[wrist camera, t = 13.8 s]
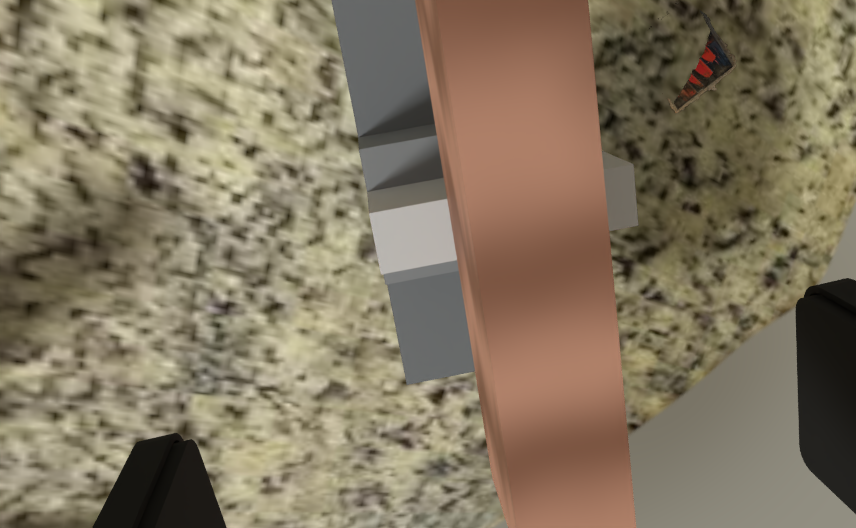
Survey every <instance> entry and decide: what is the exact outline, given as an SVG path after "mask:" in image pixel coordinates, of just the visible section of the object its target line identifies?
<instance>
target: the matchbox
mask: <svg viewBox="0 0 856 528" xmlns="http://www.w3.org/2000/svg"><path fill="white" fill-rule="evenodd" d="M675 4H679V2H677V3H675ZM700 12H701V14H702V15H703V16H704V19H705V21H706V23H707V22H708V23H707V25H708V27H709V28H710V30H711V31H710V34H709V36H708V38H709V39H710V40H709V41H708V42H707V45H706V47H705V48H706V49H705V51H704V53H703V55H702V58H699V59H700V60H699V63H698V65H697V67H696V69H694V70H693V71H692V74H691V77H690V78H689V80H688V81H687V83H686V84H685V86H682V87H684V88H683V89H682V91H681V94H679V95H680V96H678V97H677V98H676V100H675V102H674V103H673V104H675V106H676V107H675V106H674V105H673V104H672V103H671V102H672V101H671V102H670V100H669V99H668V101H669V103H670V106H671V108H672V109H674V110H675V113H678V112H679V111H681V110H684V109H685V108H684V107H686V106H688V105H689V104H690V103H691V102H694V101H695V100H697V99H699V96H700V95H701V94H703V93H704V92H706V91H707V90H708V91H709V90H714V91H716V88H715V84H717V83H718V82H719V81H720V80H721V79H722V78H723V77H724V76H726V75H727V74H728V73H731V70H733V69H734V68H735V67H736V66H737V65H736V62H737V60H735V59H734V58H735V56H734V55H732V54H730V51H729V50H728V49H727V44H726V43H724V42H723V41H722V40H721V38H720V37H719V35H718V34H717V33H716V32H715V31H714V28H713V27H712V25H711V23H710V19H709V18H708V17H707V15H706V14H704V13H703V12H702V11H700ZM667 15H668V13H667ZM662 18H663V17H662ZM658 19H659V18H658ZM649 29H650V28H649ZM662 94H663V93H662ZM676 101H677V102H676Z"/></svg>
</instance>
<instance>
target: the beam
mask: <svg viewBox="0 0 856 528" xmlns="http://www.w3.org/2000/svg"><path fill="white" fill-rule="evenodd" d="M415 4H416V10H417V16H418V22H419V28H420V34H421V41H422V47H423V53H424V59H425V65H426V71H427V78H428V84H429V90H430V96H431V102H432V108H433V115H434V121H435V127H436V133H437V139H438V145H439V151H440V158H441V164H442V170H443V176H444V182H445V188H446V195H447V201H448V207H449V213H450V219H451V225H452V232H453V238H454V244H455V250H456V256H457V262H458V269H459V275H460V281H461V287H462V293H463V299H464V306H465V312H466V318H467V324H468V330H469V336H470V343H471V349H472V355H473V361H474V367H475V373H476V380H477V386H478V392H479V398H480V404H481V410H482V416H483V423H484V429H485V435H486V441H487V447H488V453H489V460H490V466H491V472H492V478H493V481H494V484H495V487H496V490H497V494H498V497H499V500H500V503H501V506H502V509H503V513H504V516H505V519H506V522H507V525H508V528H636V521H635V510H634V500H633V499H634V498H633V487H632V477H631V467H630V466H631V465H630V455H629V444H628V433H627V422H626V411H625V400H624V389H623V378H622V367H621V356H620V345H619V334H618V323H617V312H616V301H615V290H614V279H613V268H612V257H611V246H610V235H609V224H608V213H607V202H606V191H605V181H604V170H603V159H602V148H601V137H600V126H599V115H598V104H597V93H596V82H595V71H594V60H593V49H592V38H591V27H590V16H589V5H588V0H415Z"/></svg>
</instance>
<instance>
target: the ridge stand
mask: <svg viewBox="0 0 856 528" xmlns="http://www.w3.org/2000/svg"><path fill="white" fill-rule="evenodd" d="M332 5H333V10H334V15H335V20H336V25H337V31H338V36H339V41H340V46H341V51H342V56H343V61H344V66H345V71H346V76H347V82H348V87H349V92H350V97H351V102H352V107H353V112H354V117H355V122H356V127H357V133H358V138H359V152H360V157H361V163H362V168H363V173H364V178H365V183H366V188H367V195H368V207H369V216H370V221H371V226H372V231H373V236H374V241H375V246H376V251H377V256H378V261H379V266H380V271H381V274H384V279H385V284H386V285H388V291H389V296H390V301H391V306H392V311H393V316H394V321H395V326H396V331H397V336H398V342H399V347H400V352H401V357H402V362H403V367H404V372H405V377H406V382H407V385H408V384H413V383H418V382H423V381H428V380H433V379H439V378H444V377H449V376H454V375H459V374H464V373H469V372H474V371H475V367H474V361H473V355H472V349H471V343H470V336H469V330H468V324H467V318H466V312H465V306H464V299H463V293H462V287H461V281H460V275H459V269H458V262H457V256H456V250H455V244H454V238H453V232H452V225H451V219H450V213H449V207H448V201H447V195H446V188H445V182H444V176H443V170H442V164H441V158H440V151H439V145H438V139H437V133H436V127H435V121H434V115H433V108H432V102H431V96H430V90H429V84H428V78H427V71H426V65H425V59H424V53H423V47H422V41H421V34H420V28H419V22H418V16H417V10H416V4H415V0H332ZM602 159H603V170H604V181H605V191H606V202H607V213H608V224H609V231H613V230H618V229H623V228H629V227H634V226H638V215H637V202H636V189H635V176H634V164H632V163H630V162H627V161H625V160H623V159H620V158H618V157H616V156H613V155H611V154H609V153H606V152H604V151H602Z"/></svg>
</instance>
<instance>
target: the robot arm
mask: <svg viewBox="0 0 856 528" xmlns="http://www.w3.org/2000/svg"><path fill="white" fill-rule="evenodd" d="M796 341H797V375H798V409H799V410H798V411H799V445H800V452H801V455H802V458H803V460H804V462H805V464H806V466H807V467H808V468H809V470H810V471H811V472H812V473H813V474H814V475H815V476H816V477H817V478H818V479H819V480H821V481H822V482H823V483H824V484H825V485H826V486H827V487H828V488H829V489H830V490H831V491H832V492H833V493H834V494H835V495H836V496H837V497H838V498H839V499H841V500H842V501H843V502H844V503H845V504H846V505H847V506H848V507H849V508H850V509H851V510H852V511H853V512H854V513H855V514H856V281H855V280H852V279H849V278H846V279H841V280H837V281H833V282H828V283H824V284H820V285H815V286H811V287H809V288H808V289H807V290H806V292H805V295H804V298H800V299H799V300H798V302H797V304H796ZM93 528H226V525H225V522H224V519H223V516H222V514H221V511H220V508H219V505H218V502H217V500H216V497H215V494H214V491H213V488H212V485H211V483H210V480H209V477H208V474H207V471H206V469H205V466H204V463H203V460H202V457H201V455H200V452H199V449H198V447H197V444H196V443H195V442H194V440H192V439H191V440H186V441H184V440H183V439H182V437H181V436H180V435H179V434H177V433H174V434H169V435H165V436H161V437H156V438H152V439H148V440H143V441H139V442H137V443H136V444H135V446H134V447H133V449H132V451H131V453H130V455H129V457H128V459H127V461H126V463H125V465H124V467H123V469H122V471H121V473H120V475H119V477H118V479H117V481H116V483H115V485H114V487H113V488H112V490H111V492H110V494H109V496H108V498H107V500H106V502H105V504H104V506H103V508H102V510H101V512H100V514H99V516H98V518H97V520H96V522H95V524H94V526H93Z"/></svg>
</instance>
